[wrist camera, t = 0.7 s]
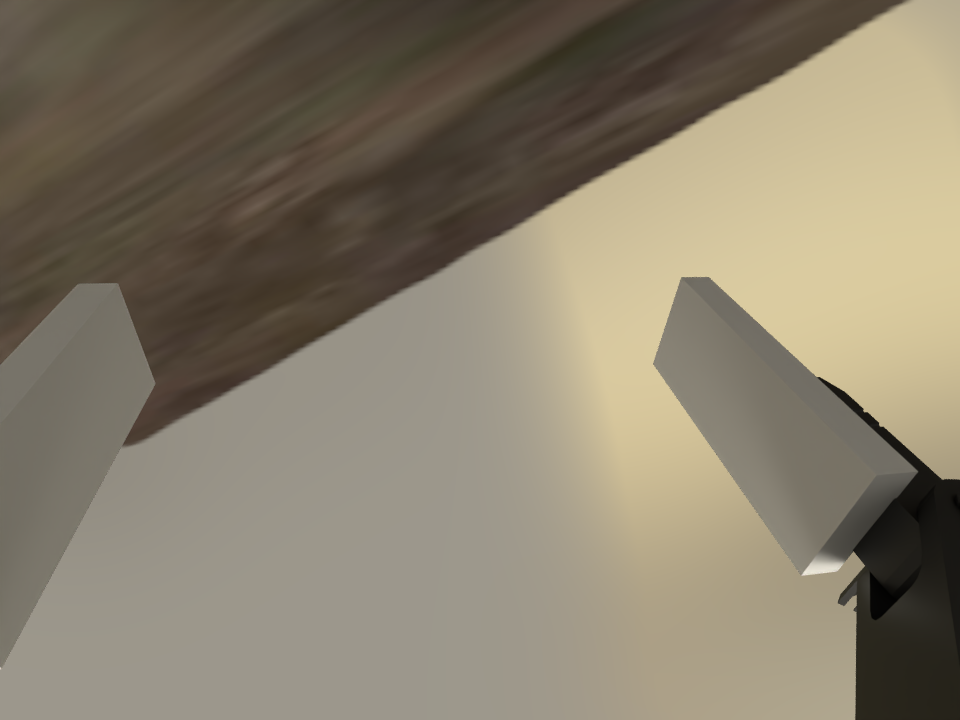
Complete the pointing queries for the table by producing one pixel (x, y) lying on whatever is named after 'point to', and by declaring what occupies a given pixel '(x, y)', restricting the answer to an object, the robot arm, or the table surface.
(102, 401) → the robot arm
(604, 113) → the table surface
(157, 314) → the table surface
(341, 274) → the table surface
